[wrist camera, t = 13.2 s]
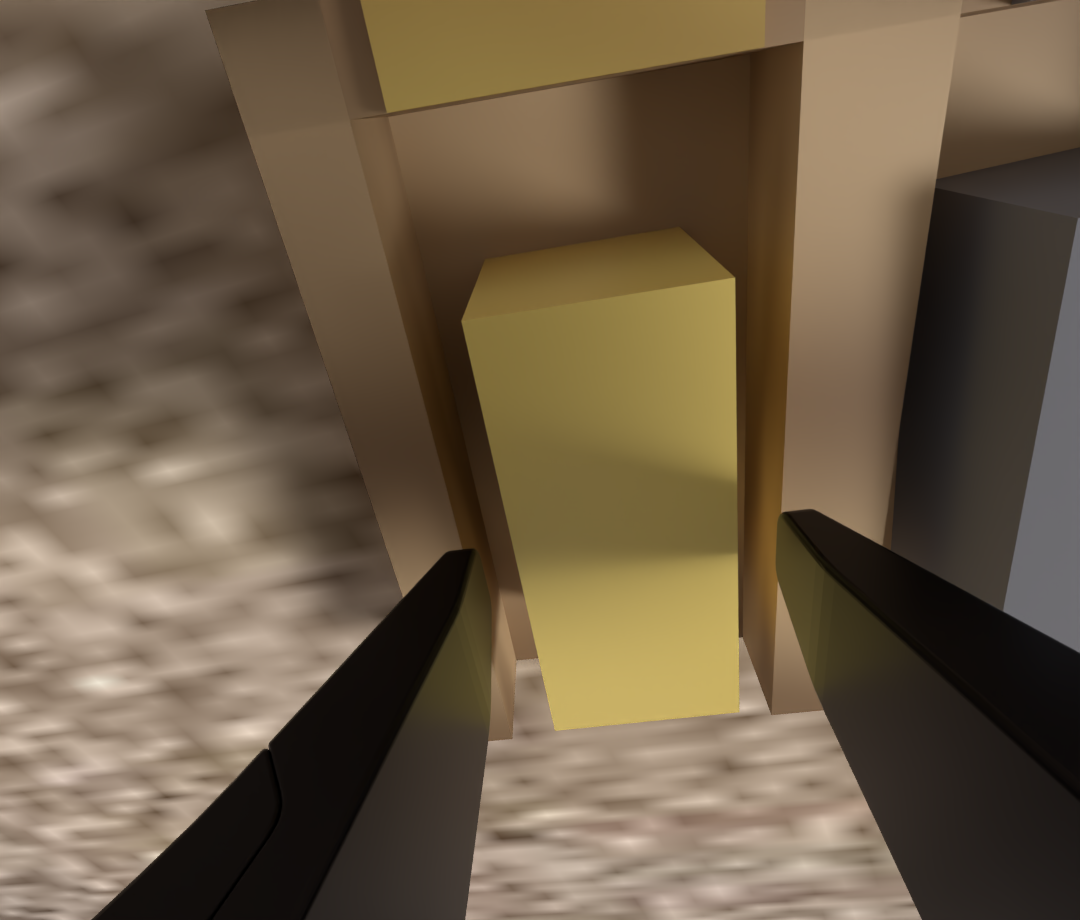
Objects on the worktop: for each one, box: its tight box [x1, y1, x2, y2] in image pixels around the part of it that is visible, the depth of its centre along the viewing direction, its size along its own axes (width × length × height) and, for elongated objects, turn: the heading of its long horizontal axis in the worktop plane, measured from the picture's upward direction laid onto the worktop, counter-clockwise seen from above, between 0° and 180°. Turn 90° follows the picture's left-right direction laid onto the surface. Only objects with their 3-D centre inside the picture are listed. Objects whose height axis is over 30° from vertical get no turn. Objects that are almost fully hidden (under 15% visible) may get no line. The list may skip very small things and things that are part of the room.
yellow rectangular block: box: [461, 227, 739, 731], centre depth 10 cm, size 7×3×3 cm, turn 9°
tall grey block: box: [891, 147, 1080, 653], centre depth 9 cm, size 7×3×3 cm, turn 12°
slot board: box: [205, 0, 1080, 741], centre depth 10 cm, size 12×14×3 cm
